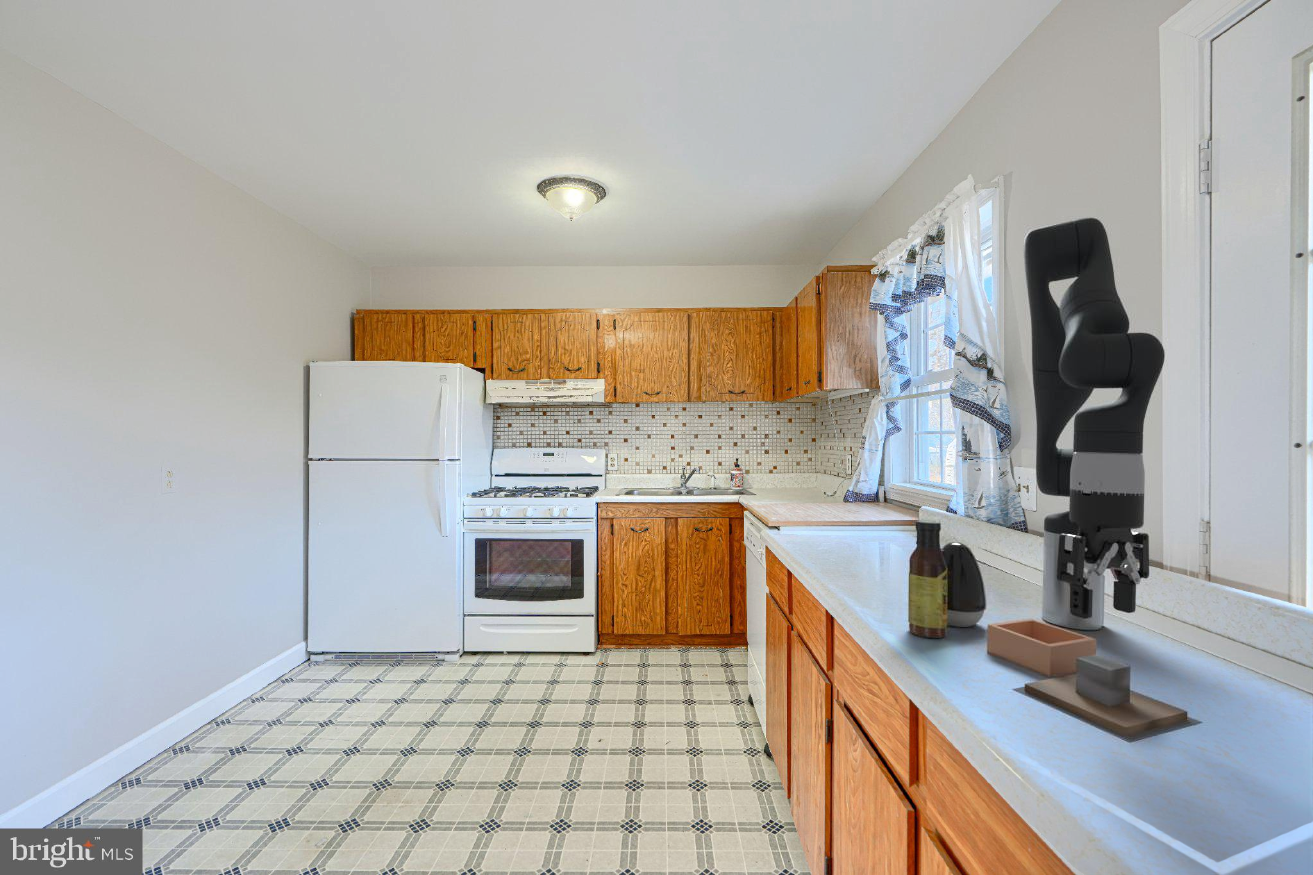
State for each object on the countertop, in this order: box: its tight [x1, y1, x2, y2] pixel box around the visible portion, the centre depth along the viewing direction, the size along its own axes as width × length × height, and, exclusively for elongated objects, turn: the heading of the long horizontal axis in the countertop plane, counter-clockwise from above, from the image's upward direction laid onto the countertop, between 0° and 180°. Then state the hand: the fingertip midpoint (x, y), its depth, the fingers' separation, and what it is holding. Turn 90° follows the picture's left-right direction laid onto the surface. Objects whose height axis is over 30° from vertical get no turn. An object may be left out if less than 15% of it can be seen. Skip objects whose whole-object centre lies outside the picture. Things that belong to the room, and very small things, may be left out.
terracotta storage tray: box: [986, 618, 1097, 679], centre depth 87 cm, size 10×10×5 cm
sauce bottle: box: [907, 519, 948, 639], centre depth 100 cm, size 7×6×20 cm
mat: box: [1012, 686, 1203, 743], centre depth 73 cm, size 14×14×1 cm
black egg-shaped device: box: [941, 541, 988, 628], centre depth 106 cm, size 10×10×15 cm
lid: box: [1024, 654, 1189, 736], centre depth 73 cm, size 12×12×6 cm
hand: (1102, 614), depth 72 cm, fingers open, 8 cm apart
